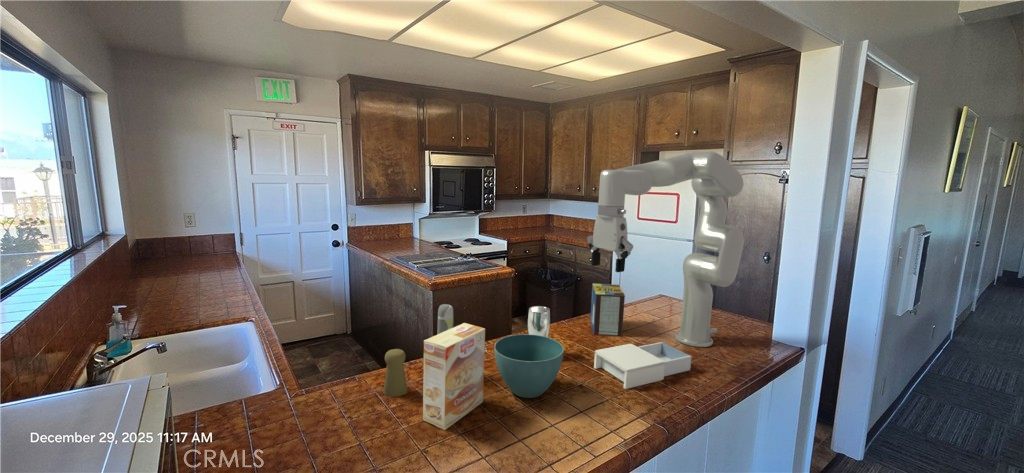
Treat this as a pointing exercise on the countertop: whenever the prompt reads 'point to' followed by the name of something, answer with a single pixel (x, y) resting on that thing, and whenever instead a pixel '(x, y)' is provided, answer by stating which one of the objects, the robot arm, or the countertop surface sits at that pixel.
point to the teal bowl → (528, 363)
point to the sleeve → (632, 364)
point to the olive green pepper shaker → (395, 373)
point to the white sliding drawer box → (672, 357)
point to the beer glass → (539, 320)
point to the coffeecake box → (453, 374)
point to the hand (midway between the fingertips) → (607, 268)
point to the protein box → (607, 309)
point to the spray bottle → (445, 318)
